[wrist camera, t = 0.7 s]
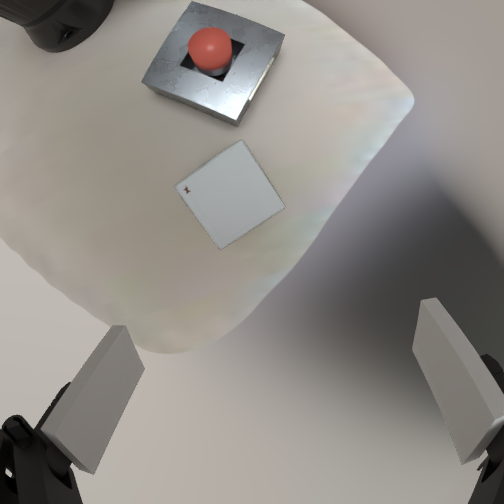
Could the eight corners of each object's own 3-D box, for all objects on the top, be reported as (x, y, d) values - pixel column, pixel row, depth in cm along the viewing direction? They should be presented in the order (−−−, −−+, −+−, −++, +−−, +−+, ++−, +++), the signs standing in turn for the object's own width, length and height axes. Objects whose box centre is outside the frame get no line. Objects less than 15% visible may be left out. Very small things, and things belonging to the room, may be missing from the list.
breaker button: (188, 68, 29) (179, 54, 24) (206, 39, 28) (200, 22, 23) (221, 81, 30) (218, 68, 25) (239, 51, 29) (238, 35, 24)
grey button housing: (155, 92, 33) (141, 82, 28) (198, 21, 30) (191, 1, 25) (238, 127, 35) (237, 120, 30) (280, 52, 32) (286, 35, 27)
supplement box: (225, 225, 39) (217, 253, 27) (193, 178, 37) (170, 185, 25) (274, 194, 38) (288, 208, 26) (242, 145, 36) (241, 136, 24)
